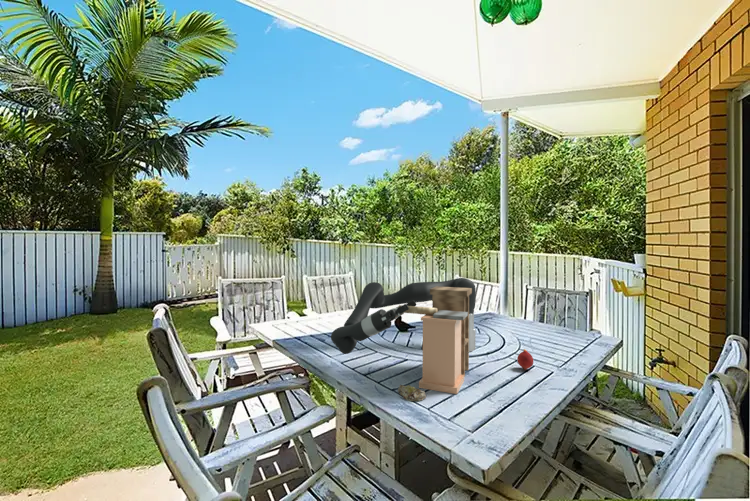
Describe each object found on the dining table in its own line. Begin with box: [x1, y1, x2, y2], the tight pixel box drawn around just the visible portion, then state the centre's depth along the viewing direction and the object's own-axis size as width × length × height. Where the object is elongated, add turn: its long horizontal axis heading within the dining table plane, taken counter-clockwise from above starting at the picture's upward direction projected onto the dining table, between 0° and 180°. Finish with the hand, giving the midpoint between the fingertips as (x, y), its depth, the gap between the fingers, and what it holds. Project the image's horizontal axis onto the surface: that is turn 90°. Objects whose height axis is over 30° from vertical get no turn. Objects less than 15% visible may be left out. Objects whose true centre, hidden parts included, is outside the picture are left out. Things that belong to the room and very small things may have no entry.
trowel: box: [397, 304, 468, 320], centre depth 127 cm, size 24×9×3 cm, turn 66°
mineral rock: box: [397, 384, 427, 402], centre depth 116 cm, size 11×4×8 cm
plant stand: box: [430, 286, 472, 378], centre depth 138 cm, size 14×10×32 cm
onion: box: [516, 348, 534, 371], centre depth 140 cm, size 6×6×8 cm
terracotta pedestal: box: [418, 314, 465, 395], centre depth 125 cm, size 13×13×24 cm
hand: (411, 304), depth 130 cm, fingers open, 8 cm apart
